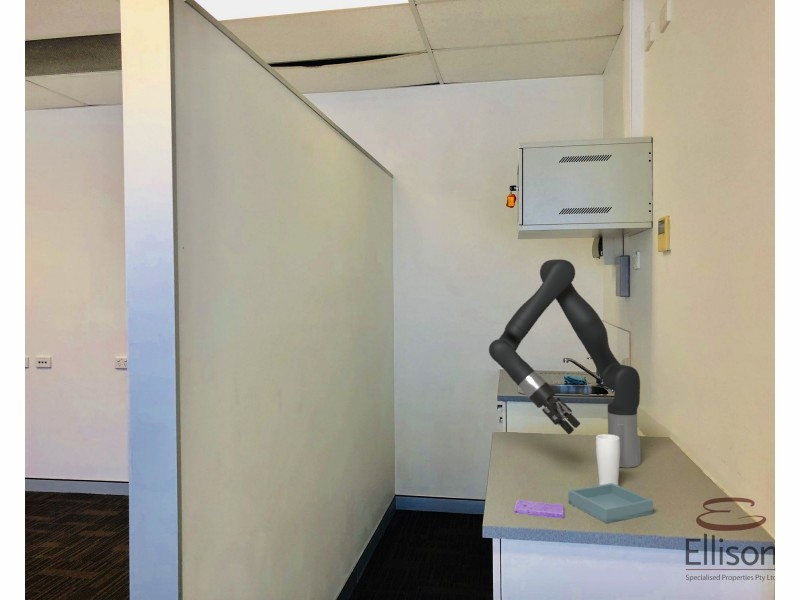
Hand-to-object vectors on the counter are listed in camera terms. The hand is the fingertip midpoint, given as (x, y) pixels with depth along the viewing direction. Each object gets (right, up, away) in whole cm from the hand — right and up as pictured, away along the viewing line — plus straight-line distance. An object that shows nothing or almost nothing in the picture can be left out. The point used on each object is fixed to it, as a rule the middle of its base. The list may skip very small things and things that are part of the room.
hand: (575, 429), depth 171 cm
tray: (+3, -16, -21) cm, 27 cm away
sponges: (-16, -18, -21) cm, 32 cm away
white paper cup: (+9, -16, -4) cm, 19 cm away
